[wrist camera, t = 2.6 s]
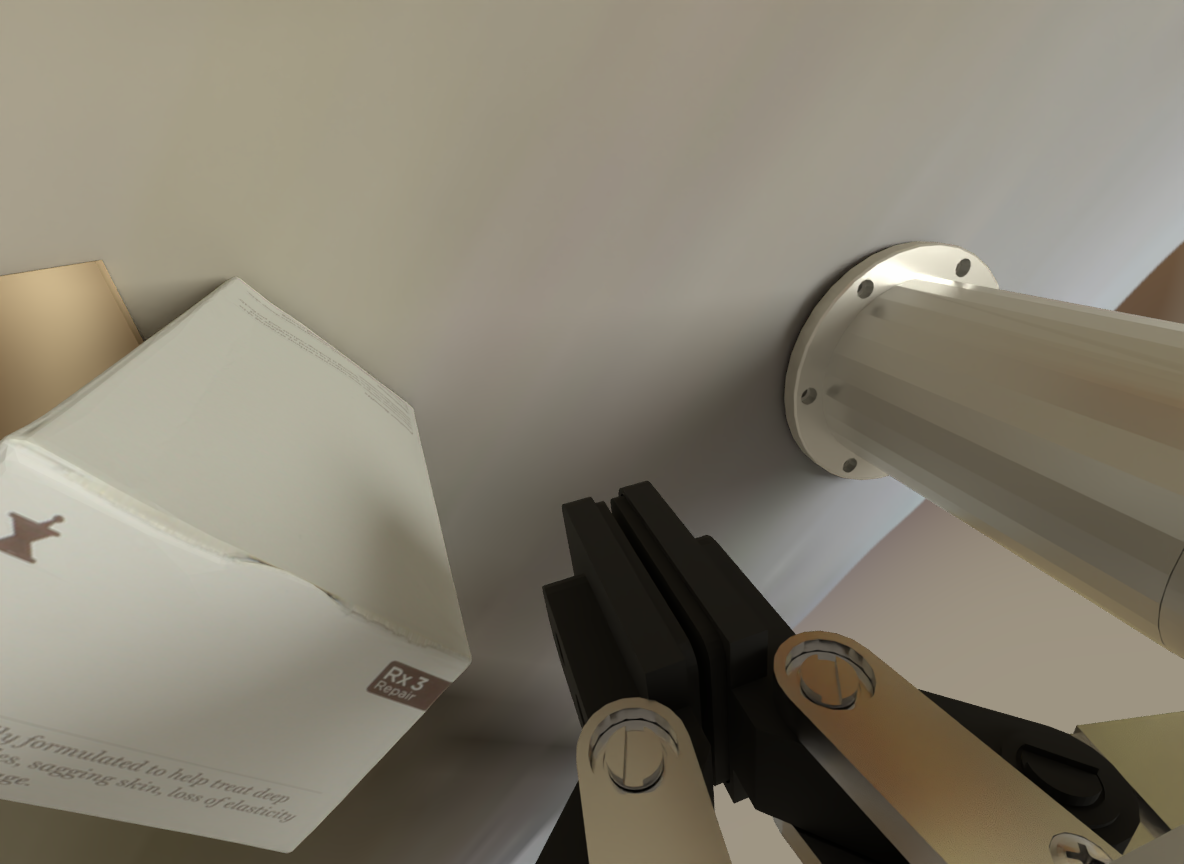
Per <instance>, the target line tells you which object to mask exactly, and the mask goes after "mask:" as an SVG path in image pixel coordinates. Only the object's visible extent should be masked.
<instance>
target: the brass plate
mask: <svg viewBox="0 0 1184 864" xmlns="http://www.w3.org/2000/svg"><path fill="white" fill-rule="evenodd" d="M143 342H144V341H143V339H142V337H141V336H140V334H139V332H138V330H137V328H136V326H135V324H134V322H133V320H132V318H131V316H130V314H129V312H128V310H127V308H126V306H125V304H124V302H123V300H122V298H121V296H120V295H119V293H118V291H117V289H116V287H115V285H114V283H113V281H112V279H111V277H110V275H109V273H108V271H107V269H106V267H105V265H104V263H103V261H102V260H98V261H91V262H85V263H79V264H72V265H66V266H60V267H53V268H47V269H41V270H34V271H28V272H22V273H15V274H9V275H3V276H0V441H1V440H2V439H3V438H4V437H5V436H7V435H9V434H11V433H13V432H15V431H17V430H19V429H20V428H22V427H24V426H26V425H28V424H30V423H32V422H33V421H35V420H37V419H38V418H40V417H41V416H43V415H45V414H46V413H47V412H49V411H50V410H52V409H53V408H54V407H56V406H57V405H59V404H60V403H61V402H63V401H64V400H65V399H67V398H68V397H70V396H71V395H72V394H74V393H75V392H76V391H78V390H79V389H81V388H82V387H83V386H85V385H86V384H87V383H89V382H90V381H92V380H93V379H94V378H96V377H97V376H98V375H100V374H101V373H103V372H104V371H105V370H107V369H108V368H109V367H111V366H112V365H114V364H115V363H116V362H118V361H119V360H120V359H122V358H123V357H125V356H126V355H127V354H129V353H130V352H131V351H133V350H134V349H135V348H137V347H138V346H139V345H141V344H142V343H143Z"/></svg>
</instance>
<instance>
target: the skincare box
mask: <svg viewBox="0 0 1184 864" xmlns="http://www.w3.org/2000/svg"><path fill="white" fill-rule="evenodd" d="M471 662H472V657H471V652H470V648H469V644H468V640H467V636H466V632H465V628H464V623H463V619H462V615H461V610H460V606H459V602H458V597H457V593H456V589H455V585H454V581H453V577H452V573H451V569H450V565H449V561H448V556H447V552H446V548H445V543H444V539H443V535H442V531H441V526H440V522H439V517H438V513H437V508H436V504H435V500H434V496H433V492H432V488H431V483H430V479H429V475H428V471H427V466H426V462H425V457H424V454H423V449H422V445H421V442H420V436H419V432H418V428H417V424H416V420H415V415H414V409H413V408H412V407H411V406H410V405H409V404H408V403H407V402H406V401H404V400H403V399H402V398H400V397H399V396H398V395H396V394H395V393H394V392H392V391H391V390H390V389H388V388H387V387H386V386H384V385H383V384H382V383H380V382H379V381H378V380H376V379H375V378H374V377H372V376H371V375H370V374H368V373H367V372H366V371H365V370H363V369H362V368H361V367H359V366H358V365H357V364H355V363H354V362H353V361H352V360H350V359H349V358H347V357H346V356H345V355H343V354H342V353H341V352H339V351H338V350H337V349H335V348H334V347H333V346H331V345H330V344H329V343H327V342H326V341H325V340H323V339H322V338H321V337H319V336H318V335H317V334H315V333H314V332H313V331H311V330H310V329H309V328H307V327H306V326H304V325H303V324H302V323H300V322H299V321H297V320H296V319H294V318H293V317H291V316H290V315H288V314H287V313H285V312H284V311H282V310H281V309H279V308H278V307H276V306H275V305H273V304H272V303H271V302H269V301H268V300H267V299H265V298H264V297H263V296H262V295H260V294H259V293H258V292H257V291H255V290H254V289H253V288H252V287H250V286H249V285H248V284H247V283H245V282H244V281H243V280H241V279H240V278H239V277H232V278H230V279H228V280H227V281H225V282H224V283H223V284H221V285H220V286H219V287H218V288H216V289H215V290H214V291H212V292H211V293H210V294H209V295H207V296H206V297H205V298H203V299H202V300H201V301H199V302H198V303H197V304H195V305H194V306H193V307H191V308H190V309H189V310H187V311H186V312H185V313H183V314H182V315H180V316H179V317H178V318H176V319H175V320H173V321H172V322H171V323H169V324H168V325H167V326H165V327H164V328H162V329H161V330H160V331H158V332H157V333H156V334H154V335H153V336H152V337H150V338H149V339H147V340H146V341H145V342H143V343H142V344H141V345H139V346H138V347H137V348H135V349H134V350H133V351H131V352H130V353H129V354H127V355H126V356H125V357H123V358H122V359H120V360H119V361H118V362H116V363H115V364H114V365H112V366H111V367H109V368H108V369H107V370H105V371H104V372H103V373H101V374H100V375H98V376H97V377H96V378H94V379H93V380H92V381H90V382H89V383H87V384H86V385H85V386H83V387H82V388H81V389H79V390H78V391H76V392H75V393H74V394H72V395H71V396H70V397H68V398H67V399H65V400H64V401H63V402H61V403H60V404H59V405H57V406H56V407H54V408H53V409H52V410H50V411H49V412H47V413H46V414H45V415H43V416H41V417H40V418H38V419H37V420H35V421H33V422H32V423H30V424H28V425H26V426H24V427H22V428H20V429H19V430H17V431H15V432H13V433H11V434H9V435H7V436H5V437H4V438H3V439H2V440H1V441H0V799H3V800H9V801H14V802H19V803H25V804H31V805H36V806H42V807H47V808H53V809H59V810H64V811H70V812H76V813H81V814H86V815H91V816H97V817H102V818H107V819H113V820H118V821H123V822H128V823H134V824H139V825H144V826H150V827H155V828H161V829H166V830H172V831H177V832H183V833H188V834H194V835H199V836H204V837H209V838H214V839H219V840H224V841H229V842H234V843H239V844H244V845H249V846H254V847H259V848H263V849H268V850H273V851H278V852H283V853H289V852H291V851H293V850H294V849H295V848H296V847H297V846H298V845H299V844H300V843H301V842H302V841H303V840H304V839H305V838H306V837H307V836H308V835H309V834H310V833H311V832H312V831H313V830H314V829H315V828H316V827H317V826H318V825H319V824H320V823H321V822H322V821H323V820H324V819H325V818H326V817H327V816H328V815H329V814H330V812H331V811H332V810H333V809H334V808H335V807H336V806H337V805H338V804H339V803H340V802H341V801H342V800H343V799H344V798H345V797H346V796H347V795H348V794H349V792H350V791H351V790H352V789H353V788H354V787H355V786H356V785H357V784H358V783H359V782H360V781H361V780H362V778H363V777H364V776H365V775H366V774H367V773H368V772H369V771H370V770H371V769H372V768H373V767H374V766H375V765H376V764H377V763H378V762H379V761H380V760H381V759H382V758H383V756H384V755H385V754H386V753H387V752H388V751H389V750H390V749H391V748H392V747H393V746H394V745H395V744H396V743H397V742H398V740H399V739H400V738H401V737H402V736H403V735H404V734H405V733H406V732H407V731H408V730H409V729H410V728H411V727H412V726H413V725H414V724H415V723H416V722H417V720H418V719H419V718H420V717H421V716H422V715H423V714H424V713H425V712H426V711H427V709H428V708H429V707H430V706H431V705H432V704H433V703H434V702H435V700H436V699H437V698H438V697H439V696H440V695H441V694H442V693H443V692H444V691H445V690H446V689H447V688H448V687H449V686H450V685H451V684H452V683H453V682H454V681H455V680H456V679H457V678H458V677H459V676H460V675H461V674H462V673H463V672H464V671H465V669H466V668H467V667H468V666H469V665H470V664H471Z"/></svg>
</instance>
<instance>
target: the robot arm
mask: <svg viewBox="0 0 1184 864" xmlns="http://www.w3.org/2000/svg"><path fill="white" fill-rule="evenodd" d="M784 402H785V410H786V418H787V422H788V425H789V428H790V431H791V434H792V436H793V438H794V440H795V441H796V443H797V444H798V446H799V447H800V449H801V451H802V452H803V453H804V454H806V455H807V456H808V457H809V458H810V459H811V460H812V461H813V462H815V463H816V464H818V465H819V466H821V467H822V468H824V469H825V470H827V471H828V472H830V473H832V474H834V475H837V476H839V477H842V478H847V479H857V480H868V479H877V478H882V477H886V476H889V475H890V476H891V477H893V478H894V479H896V480H897V481H899V482H901V483H902V484H904V485H905V486H907V487H909V488H910V489H912V490H913V491H915V492H917V493H918V494H920V495H921V496H923V497H925V498H926V499H928V500H929V501H931V502H933V503H934V504H936V505H937V506H939V507H941V508H942V509H944V510H946V511H947V512H948V513H950V514H952V515H953V516H955V517H956V518H958V519H960V520H961V521H963V522H965V523H966V524H968V525H969V526H971V527H972V528H974V529H976V530H977V531H979V532H980V533H982V534H984V535H985V536H987V537H989V538H990V539H992V540H993V541H995V542H996V543H998V544H1000V545H1001V546H1003V547H1004V548H1006V549H1008V550H1009V551H1011V552H1012V553H1014V554H1015V555H1017V556H1019V557H1020V558H1022V559H1023V560H1025V561H1027V562H1028V563H1030V564H1031V565H1033V566H1035V567H1036V568H1038V569H1039V570H1041V571H1043V572H1044V573H1046V574H1047V575H1049V576H1051V577H1052V578H1054V579H1055V580H1057V581H1059V582H1060V583H1062V584H1063V585H1065V586H1067V587H1068V588H1070V589H1071V590H1073V591H1074V592H1076V593H1078V594H1079V595H1081V596H1082V597H1084V598H1086V599H1087V600H1089V601H1091V602H1092V603H1094V604H1095V605H1097V606H1098V607H1100V608H1102V609H1103V610H1105V611H1106V612H1108V613H1110V614H1111V615H1113V616H1114V617H1116V618H1117V619H1119V620H1121V621H1122V622H1124V623H1126V624H1127V625H1129V626H1130V627H1132V628H1133V629H1135V630H1137V631H1138V632H1140V633H1141V634H1143V635H1145V636H1146V637H1148V638H1149V639H1151V640H1153V641H1154V642H1156V643H1157V644H1159V645H1160V646H1162V647H1164V648H1166V649H1167V650H1168V651H1170V652H1172V653H1174V654H1176V655H1177V656H1179V657H1181V658H1183V659H1184V324H1180V323H1175V322H1169V321H1164V320H1159V319H1154V318H1148V317H1143V316H1138V315H1133V314H1127V313H1122V312H1117V311H1111V310H1106V309H1101V308H1095V307H1090V306H1085V305H1079V304H1074V303H1069V302H1063V301H1058V300H1053V299H1047V298H1042V297H1037V296H1032V295H1026V294H1021V293H1016V292H1010V291H1005V290H1000V289H999V287H998V283H997V281H996V279H995V277H994V276H993V274H992V272H991V271H990V269H989V267H988V266H987V265H986V264H985V263H984V262H983V261H982V260H981V259H980V258H978V257H977V256H976V255H975V254H974V253H972V252H970V251H968V250H966V249H964V248H961V247H959V246H956V245H950V244H944V243H938V242H921V241H914V242H909V243H904V244H899V245H894V246H892V247H889V248H887V249H885V250H882V251H880V252H878V253H875V254H873V255H871V256H870V257H868V258H867V259H865V260H864V261H862V262H861V263H859V264H858V265H856V266H855V267H853V268H851V269H850V270H849V271H848V272H847V273H846V274H845V275H844V276H843V277H842V278H840V279H839V280H838V281H837V282H836V283H835V284H834V285H833V286H832V287H831V288H830V289H829V290H828V292H827V293H826V294H825V295H824V297H823V298H822V299H821V300H820V302H819V303H818V304H817V305H816V306H815V308H814V310H813V311H812V313H811V315H810V316H809V318H808V320H807V321H806V323H805V325H804V326H803V328H802V330H801V332H800V334H799V337H798V339H797V341H796V344H795V346H794V349H793V351H792V354H791V358H790V362H789V366H788V370H787V374H786V381H785V395H784ZM611 510H612V513H611V512H610V510H609V508H608V507H607V505H606V503H605V502H604V501H602V502H598V503H595V502H594V500H593V499H592V498H591V497H588V498H584V499H581V500H577V501H573V502H570V503H566V504H563V505H562V511H563V517H564V522H565V528H566V533H567V538H568V544H569V549H570V554H571V560H572V565H573V570H574V576H573V577H570V578H567V579H564V580H560V581H557V582H554V583H551V584H548V585H544V586H543V587H542V588H543V594H544V599H545V603H546V608H547V612H548V617H549V621H550V625H551V629H552V633H553V636H554V640H555V644H556V647H557V651H558V654H559V658H560V661H561V664H562V667H563V671H564V674H565V677H566V680H567V683H568V686H569V689H570V692H571V696H572V699H573V702H574V705H575V708H576V711H577V714H578V718H579V721H580V724H581V727H582V731H581V734H580V737H579V740H578V742H577V755H576V763H577V771H578V779H579V780H578V782H577V784H576V786H575V788H574V790H573V792H572V794H571V796H570V798H569V800H568V802H567V804H566V805H565V807H564V809H563V811H562V813H561V815H560V817H559V819H558V821H557V823H556V825H555V827H554V829H553V831H552V833H551V834H550V836H549V838H548V840H547V842H546V844H545V846H544V848H543V850H542V852H541V854H540V856H539V858H538V860H537V862H536V863H535V864H732V863H731V860H730V857H729V854H728V851H727V848H726V845H725V842H724V839H723V836H722V833H721V830H720V827H719V824H718V821H717V818H716V815H715V811H714V791H713V785H714V786H716V785H718V784H721V783H724V785H725V787H726V789H727V791H728V793H729V795H730V797H731V799H732V801H733V803H736V802H739V801H741V800H743V799H746V798H748V797H749V799H750V800H751V802H752V804H753V806H754V808H755V809H757V810H759V811H761V812H763V813H765V814H768V815H770V816H773V819H774V822H775V824H776V825H777V827H778V829H779V831H780V833H781V834H782V836H783V837H784V839H785V840H786V841H787V843H788V844H789V845H790V847H791V848H792V849H793V851H794V852H795V853H796V855H797V856H798V858H799V859H800V860H801V862H802V863H803V864H1184V711H1180V712H1173V713H1166V714H1159V715H1151V716H1144V717H1136V718H1130V719H1122V720H1115V721H1107V722H1099V723H1092V724H1084V725H1077V726H1076V728H1075V731H1074V733H1073V734H1067V733H1065V732H1062V731H1059V730H1057V729H1054V728H1052V727H1049V726H1046V725H1043V724H1039V723H1036V722H1032V721H1028V720H1025V719H1022V718H1018V717H1014V716H1011V715H1007V714H1004V713H1000V712H997V711H993V710H990V709H986V708H982V707H979V706H976V705H972V704H969V703H965V702H962V701H958V700H955V699H951V698H947V697H944V696H941V695H937V694H933V693H930V692H926V691H923V690H920V689H917V688H915V687H914V686H913V685H912V684H910V683H909V682H908V681H907V680H906V679H904V678H903V677H902V676H901V675H899V674H898V673H897V672H896V671H894V670H893V669H892V668H891V667H889V666H888V665H887V664H886V663H885V662H883V661H882V660H881V659H879V658H878V657H877V656H876V655H875V654H873V653H872V652H871V651H870V650H868V649H867V648H865V647H864V646H862V645H861V644H859V643H858V642H856V641H855V640H853V639H850V638H847V637H845V636H842V635H840V634H837V633H830V632H824V631H812V632H803V633H800V634H797V635H796V634H795V633H794V632H793V631H792V629H791V628H790V627H789V626H788V625H787V624H786V622H785V621H784V620H783V619H782V618H781V617H780V615H779V614H778V613H777V612H776V611H775V610H774V608H773V607H772V606H771V605H770V604H769V603H768V601H767V600H766V599H765V598H764V597H763V595H762V594H761V593H760V592H759V591H758V590H757V588H756V587H755V586H754V585H753V584H752V583H751V581H750V580H749V579H748V578H747V577H746V576H745V574H744V573H743V572H742V571H741V570H740V569H739V567H738V566H737V565H736V564H735V563H734V562H733V560H732V559H731V558H730V557H729V556H728V555H727V553H726V552H725V551H724V550H723V549H722V547H721V546H720V545H719V544H718V543H717V542H716V541H715V540H714V539H713V538H712V537H711V536H708V535H705V536H702V537H698V538H694V537H693V536H692V534H691V533H690V532H689V531H688V529H687V528H686V527H685V526H684V524H683V523H682V522H681V521H680V519H679V518H678V517H677V516H676V514H675V513H674V512H673V511H672V509H671V508H670V507H669V506H668V504H667V503H666V502H665V501H664V499H663V498H662V497H661V496H660V494H659V493H658V492H657V491H656V489H655V488H654V487H653V486H652V484H651V483H650V482H649V481H644V482H641V483H637V484H634V485H630V486H627V487H623V488H620V489H619V497H616V498H612V499H611Z"/></svg>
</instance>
